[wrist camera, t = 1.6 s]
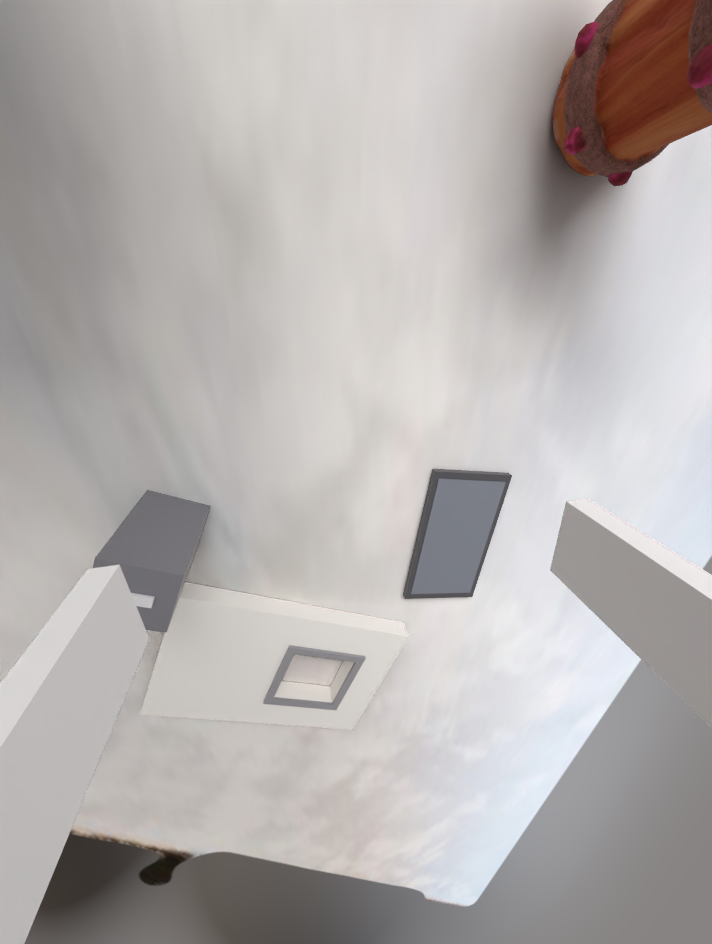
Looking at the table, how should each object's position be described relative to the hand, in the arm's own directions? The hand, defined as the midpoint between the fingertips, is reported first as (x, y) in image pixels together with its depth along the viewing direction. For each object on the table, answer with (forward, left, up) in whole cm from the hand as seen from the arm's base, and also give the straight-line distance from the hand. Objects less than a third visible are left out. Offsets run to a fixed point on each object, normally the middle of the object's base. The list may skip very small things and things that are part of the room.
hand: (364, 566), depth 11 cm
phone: (+18, -8, -21) cm, 29 cm away
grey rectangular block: (-8, -14, -20) cm, 26 cm away
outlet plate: (+6, -28, -20) cm, 35 cm away
